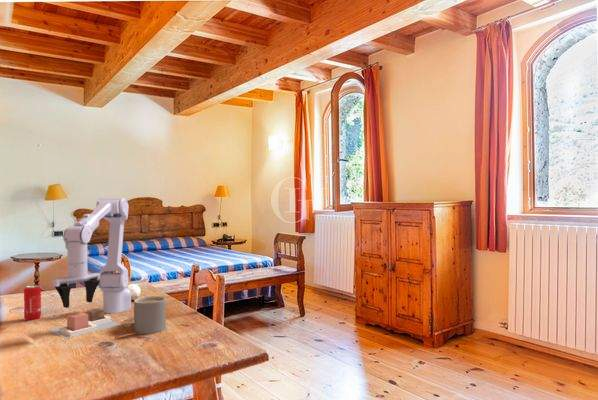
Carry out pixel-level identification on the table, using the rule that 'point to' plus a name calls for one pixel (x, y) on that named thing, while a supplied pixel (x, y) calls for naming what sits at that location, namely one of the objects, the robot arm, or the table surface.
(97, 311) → the walnut cube
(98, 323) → the board
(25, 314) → the beverage can
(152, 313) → the coffee mug
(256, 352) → the table surface
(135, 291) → the ornament
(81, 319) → the brick-red block
